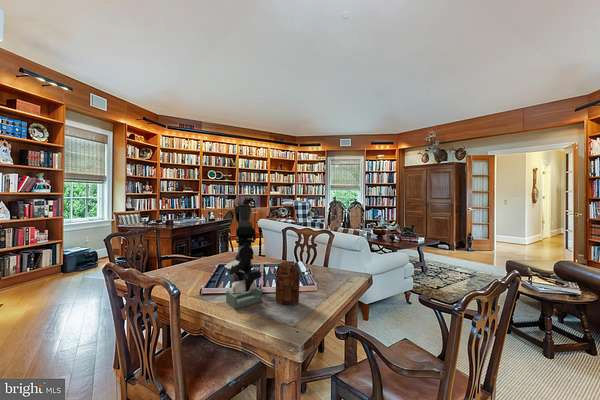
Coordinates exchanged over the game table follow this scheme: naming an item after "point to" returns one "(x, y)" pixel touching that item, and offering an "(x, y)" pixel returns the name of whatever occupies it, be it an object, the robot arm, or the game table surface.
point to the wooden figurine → (287, 283)
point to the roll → (241, 287)
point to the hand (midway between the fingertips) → (244, 289)
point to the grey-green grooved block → (244, 298)
